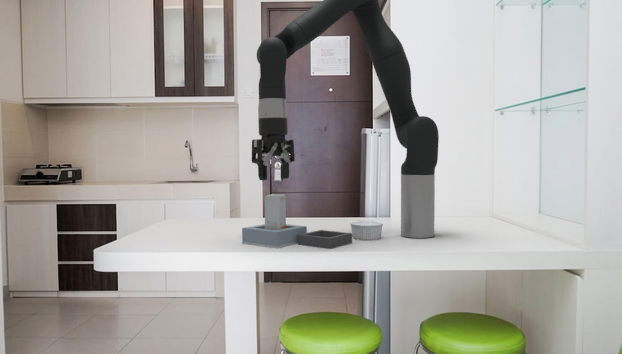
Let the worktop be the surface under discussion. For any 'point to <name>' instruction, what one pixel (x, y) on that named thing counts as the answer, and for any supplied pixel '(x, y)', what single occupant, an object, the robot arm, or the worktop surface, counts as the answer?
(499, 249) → the worktop surface
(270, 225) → the skincare box
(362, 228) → the ramekin
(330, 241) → the dark grey square tray
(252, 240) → the blue-grey square tray
